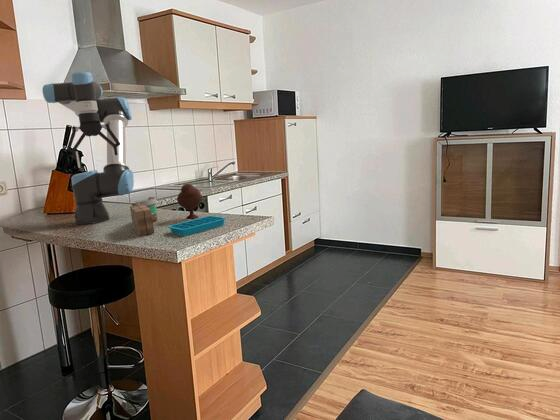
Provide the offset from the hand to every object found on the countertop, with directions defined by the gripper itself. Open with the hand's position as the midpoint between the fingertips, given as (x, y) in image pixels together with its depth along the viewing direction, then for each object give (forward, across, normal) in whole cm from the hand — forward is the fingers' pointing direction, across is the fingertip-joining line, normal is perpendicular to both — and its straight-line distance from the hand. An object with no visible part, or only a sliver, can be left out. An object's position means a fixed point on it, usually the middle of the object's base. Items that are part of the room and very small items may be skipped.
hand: (97, 165), depth 175 cm
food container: (+27, +18, -1) cm, 32 cm away
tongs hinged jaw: (+26, +13, -19) cm, 35 cm away
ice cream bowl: (+27, +33, -10) cm, 44 cm away
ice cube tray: (+27, +29, -33) cm, 52 cm away
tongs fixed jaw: (+27, +11, -17) cm, 33 cm away
